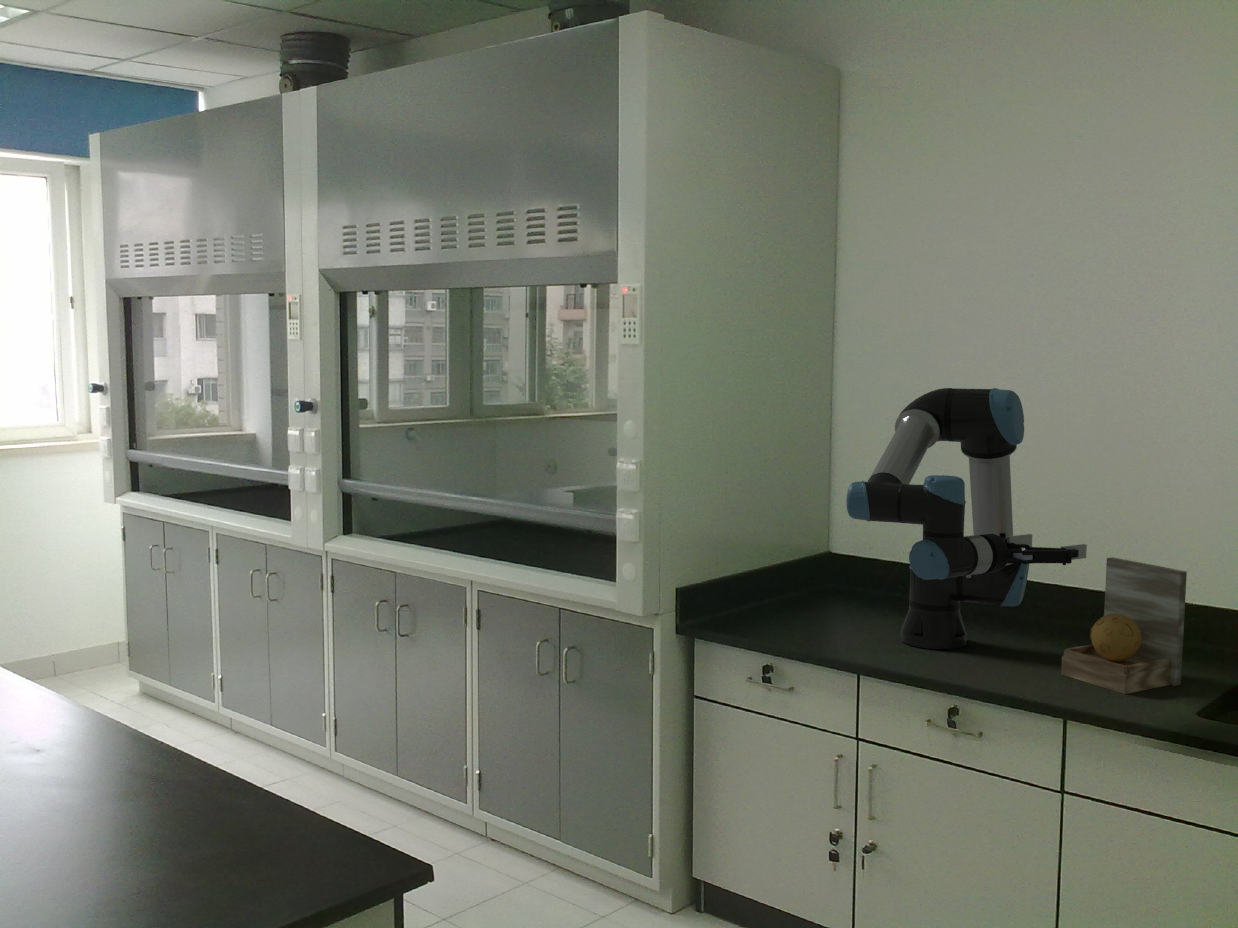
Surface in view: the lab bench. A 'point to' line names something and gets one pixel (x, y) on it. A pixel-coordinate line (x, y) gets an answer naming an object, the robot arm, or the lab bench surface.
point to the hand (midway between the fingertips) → (1057, 545)
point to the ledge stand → (1160, 618)
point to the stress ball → (1116, 637)
